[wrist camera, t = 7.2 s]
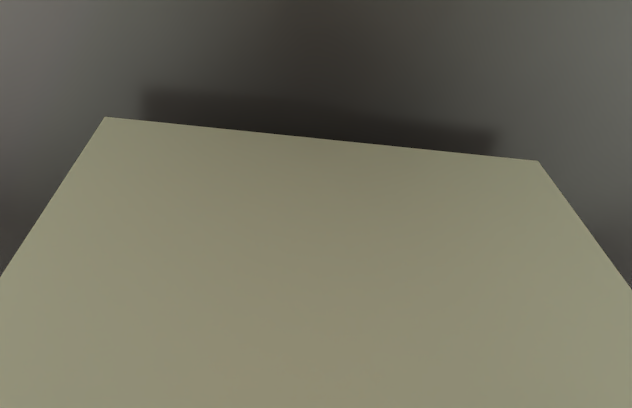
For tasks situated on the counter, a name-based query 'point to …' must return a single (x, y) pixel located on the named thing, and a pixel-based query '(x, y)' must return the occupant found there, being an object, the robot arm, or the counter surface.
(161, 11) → the counter surface
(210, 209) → the sage green cuboid
